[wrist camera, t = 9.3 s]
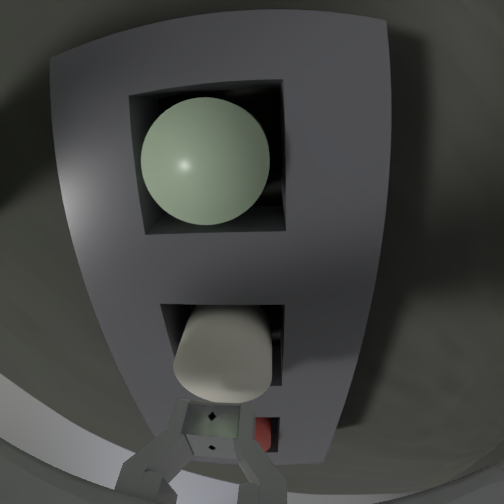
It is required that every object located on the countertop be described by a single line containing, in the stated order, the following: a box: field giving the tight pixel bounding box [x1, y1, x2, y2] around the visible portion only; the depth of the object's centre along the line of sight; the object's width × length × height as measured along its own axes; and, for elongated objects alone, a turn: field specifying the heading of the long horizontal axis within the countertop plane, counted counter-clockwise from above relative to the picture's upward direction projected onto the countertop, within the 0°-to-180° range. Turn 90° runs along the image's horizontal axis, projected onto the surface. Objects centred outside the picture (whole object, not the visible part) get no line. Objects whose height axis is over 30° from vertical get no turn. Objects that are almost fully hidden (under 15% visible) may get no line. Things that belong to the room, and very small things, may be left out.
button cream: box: [173, 305, 272, 403], centre depth 13 cm, size 4×4×3 cm
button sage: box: [141, 97, 270, 225], centre depth 10 cm, size 4×4×3 cm
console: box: [50, 9, 391, 465], centre depth 14 cm, size 26×12×3 cm, turn 2°
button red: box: [255, 417, 271, 452], centre depth 17 cm, size 4×4×3 cm
